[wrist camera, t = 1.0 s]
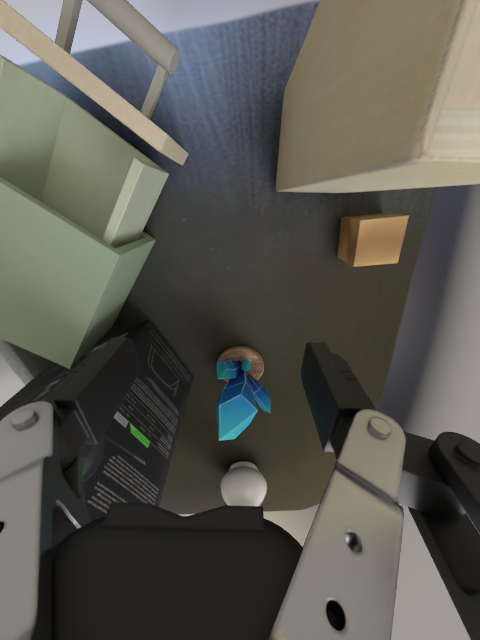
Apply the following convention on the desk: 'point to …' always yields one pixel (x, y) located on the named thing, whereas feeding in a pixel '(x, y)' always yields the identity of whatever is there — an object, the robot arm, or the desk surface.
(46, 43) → the drawer
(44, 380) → the headset box
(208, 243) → the desk surface
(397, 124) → the toy refrigerator
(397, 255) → the block
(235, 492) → the flower vase
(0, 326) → the cabinet
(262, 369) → the gemstone
